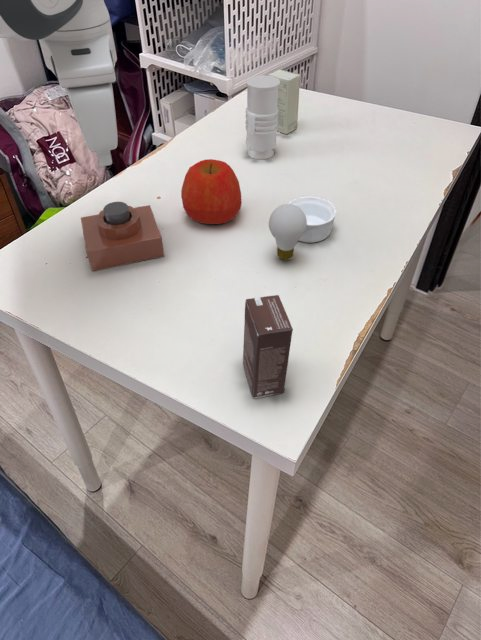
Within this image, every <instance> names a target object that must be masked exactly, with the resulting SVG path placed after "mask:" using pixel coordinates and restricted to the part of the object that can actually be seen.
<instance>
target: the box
mask: <svg viewBox="0 0 481 640" xmlns="http://www.w3.org/2000/svg"><path fill="white" fill-rule="evenodd" d="M244 302H245V303H244V325H243V326H244V328H243V346H242V347H243V349H242V350H243V351H242V365H243V366H242V367H243V370H244V373H245V378H246V381H247V383H248V387H249V391H250V394H251V397H252V399H260V398H265V397H271V396H275V395H280V394H283V393H285V388H286V382H287V381H286V380H287V373H288V364H289V357H290V351H291V344H292V337H293V327H292V324H291V321H290V319H289V317H288V314H287V312H286V309H285V307H284V304H283V302H282V300H281V298H280V295H279V294H276V295H267V296H260V297H259V296H258V297H252V298H246V299H245V301H244Z"/></svg>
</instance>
